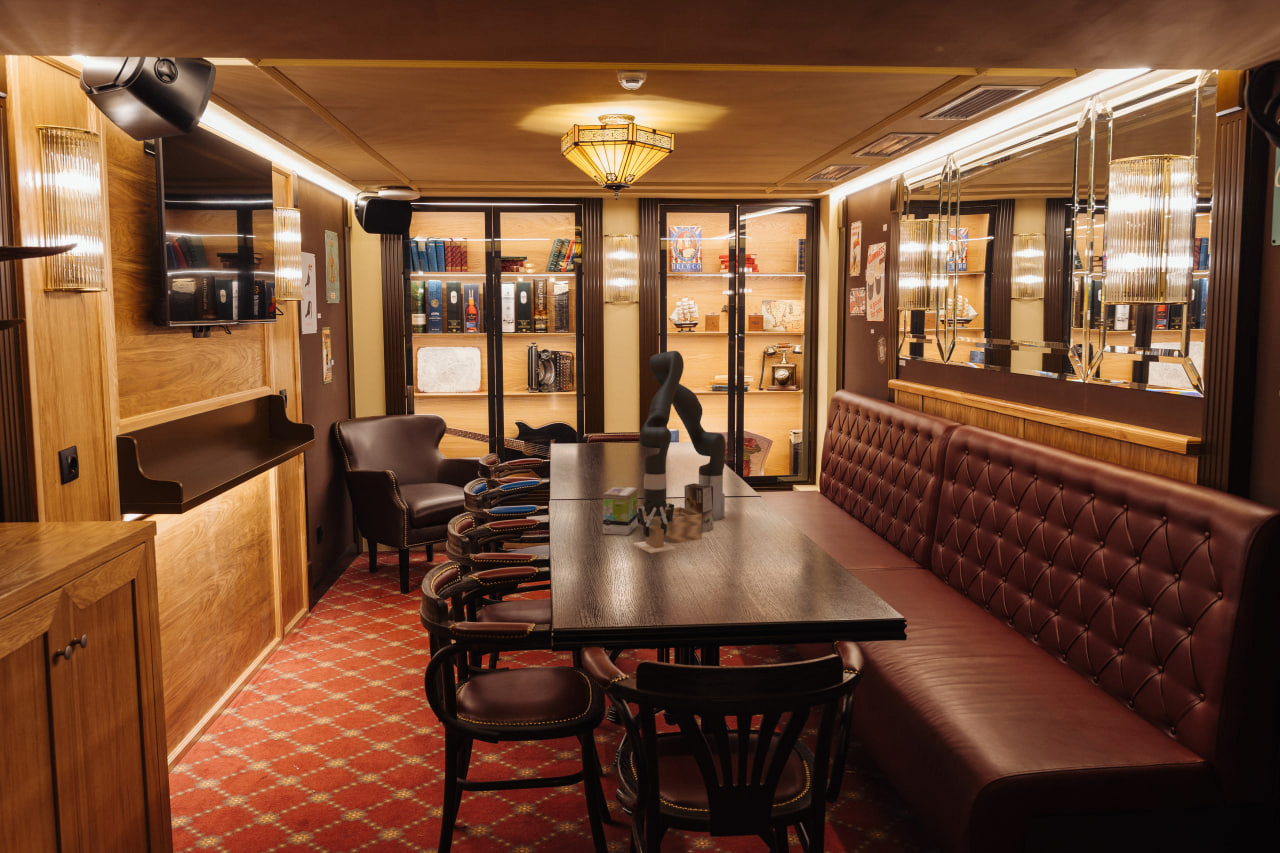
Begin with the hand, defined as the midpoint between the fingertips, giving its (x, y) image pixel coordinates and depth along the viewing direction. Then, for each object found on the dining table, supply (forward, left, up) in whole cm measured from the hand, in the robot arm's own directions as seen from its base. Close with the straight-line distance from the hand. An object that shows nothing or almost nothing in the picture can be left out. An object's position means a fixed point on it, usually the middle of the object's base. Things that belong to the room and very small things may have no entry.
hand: (654, 535), depth 297 cm
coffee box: (-27, -15, -4) cm, 31 cm away
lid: (0, 0, -4) cm, 4 cm away
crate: (-14, -9, -4) cm, 17 cm away
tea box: (-1, -27, -4) cm, 27 cm away
